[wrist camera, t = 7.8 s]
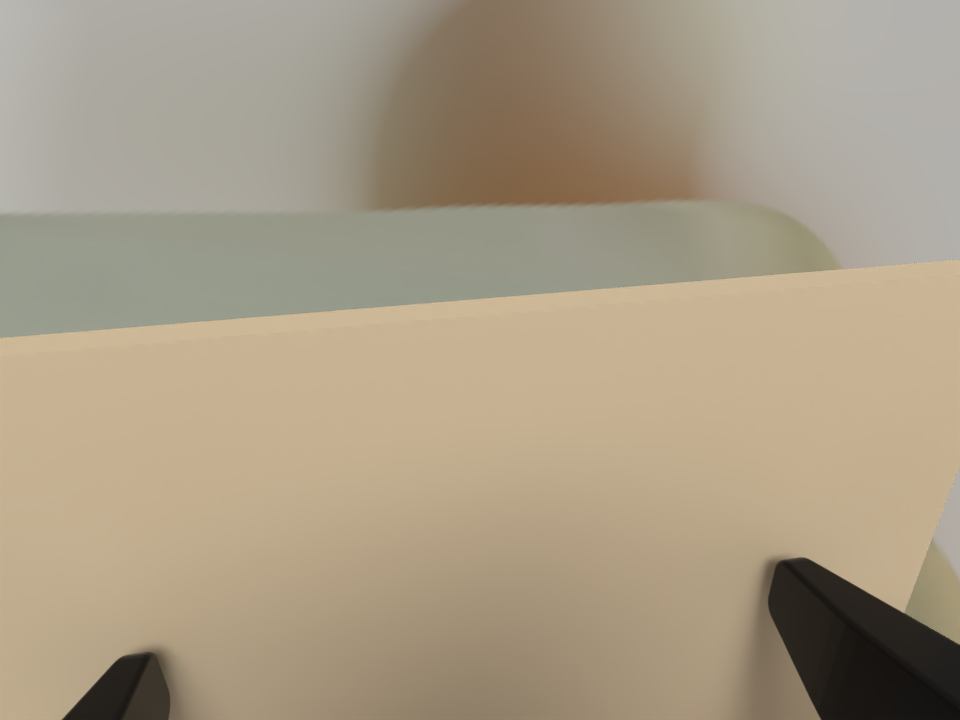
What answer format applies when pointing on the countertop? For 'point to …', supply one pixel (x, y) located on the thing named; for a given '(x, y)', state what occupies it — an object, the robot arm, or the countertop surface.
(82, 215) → the countertop surface
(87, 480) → the lid
